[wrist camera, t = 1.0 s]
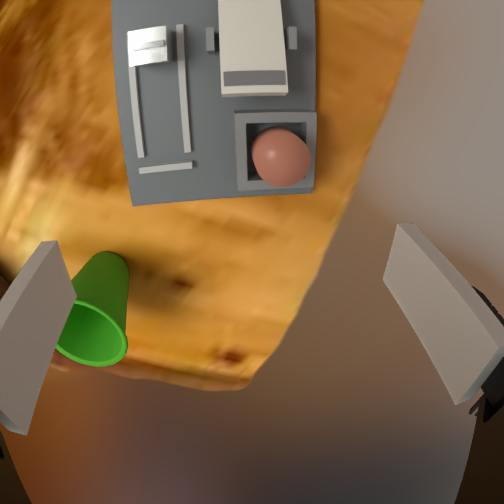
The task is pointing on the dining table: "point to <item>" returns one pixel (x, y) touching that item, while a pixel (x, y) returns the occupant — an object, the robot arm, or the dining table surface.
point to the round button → (280, 156)
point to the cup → (98, 313)
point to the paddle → (252, 48)
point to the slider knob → (150, 46)
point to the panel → (205, 105)
